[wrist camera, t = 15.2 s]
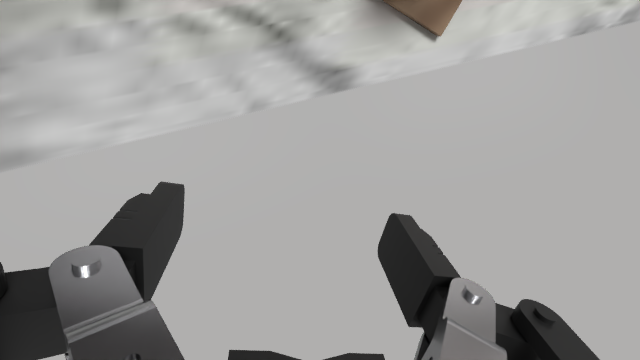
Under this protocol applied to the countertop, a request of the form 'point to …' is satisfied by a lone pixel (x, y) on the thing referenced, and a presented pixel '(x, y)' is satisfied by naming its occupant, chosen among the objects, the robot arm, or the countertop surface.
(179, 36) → the countertop surface
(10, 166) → the countertop surface
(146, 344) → the robot arm
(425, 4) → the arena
